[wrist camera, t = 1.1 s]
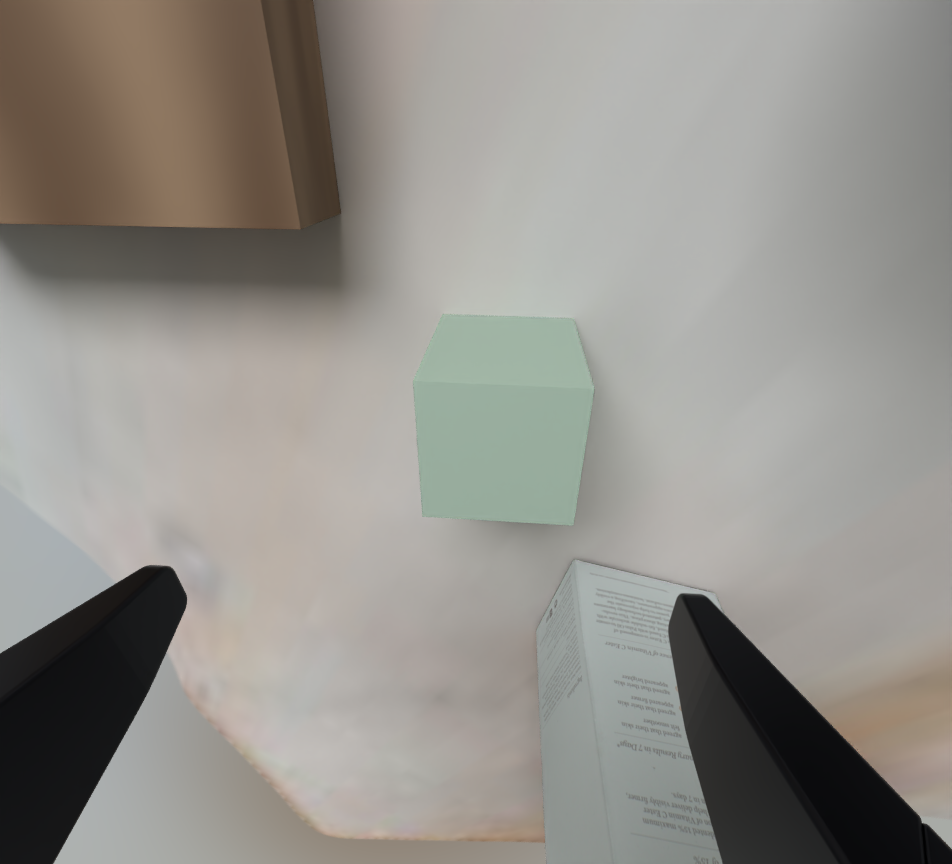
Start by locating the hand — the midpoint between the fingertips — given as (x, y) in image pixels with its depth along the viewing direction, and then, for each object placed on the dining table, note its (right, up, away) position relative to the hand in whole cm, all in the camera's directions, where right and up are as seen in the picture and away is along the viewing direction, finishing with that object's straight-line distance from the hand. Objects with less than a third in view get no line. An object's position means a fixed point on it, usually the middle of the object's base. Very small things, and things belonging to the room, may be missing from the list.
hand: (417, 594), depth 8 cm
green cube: (+2, +5, +11) cm, 12 cm away
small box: (+9, -7, +18) cm, 21 cm away
